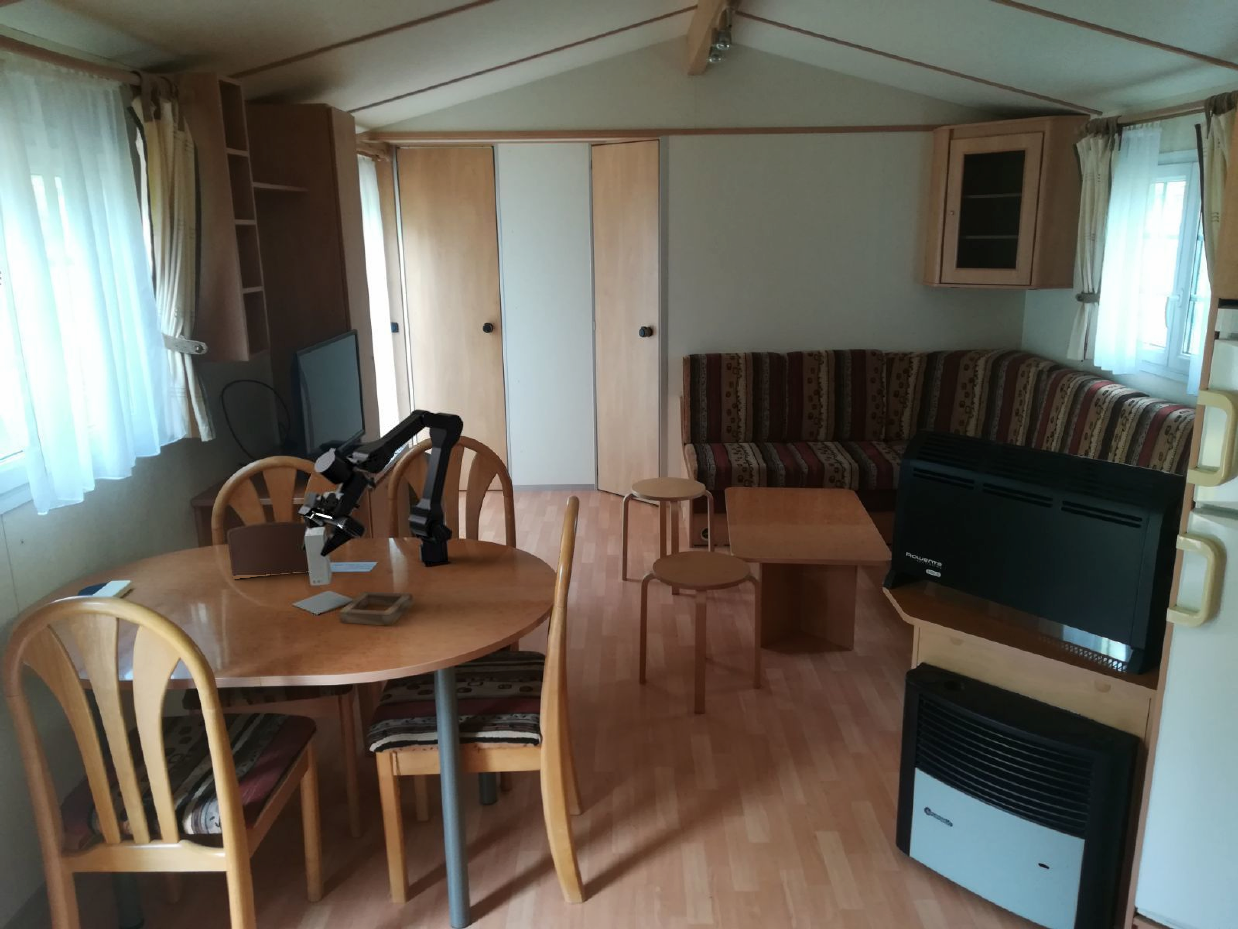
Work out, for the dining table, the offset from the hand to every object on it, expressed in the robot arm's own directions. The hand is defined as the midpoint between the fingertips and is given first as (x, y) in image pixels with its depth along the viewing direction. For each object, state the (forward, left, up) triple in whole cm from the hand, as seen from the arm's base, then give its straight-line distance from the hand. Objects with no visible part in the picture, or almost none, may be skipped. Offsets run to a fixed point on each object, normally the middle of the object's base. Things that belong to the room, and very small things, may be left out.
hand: (312, 552), depth 209 cm
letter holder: (+8, -30, -13) cm, 34 cm away
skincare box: (-1, -1, -7) cm, 8 cm away
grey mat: (-1, -1, -13) cm, 13 cm away
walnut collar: (-12, +11, -13) cm, 21 cm away
